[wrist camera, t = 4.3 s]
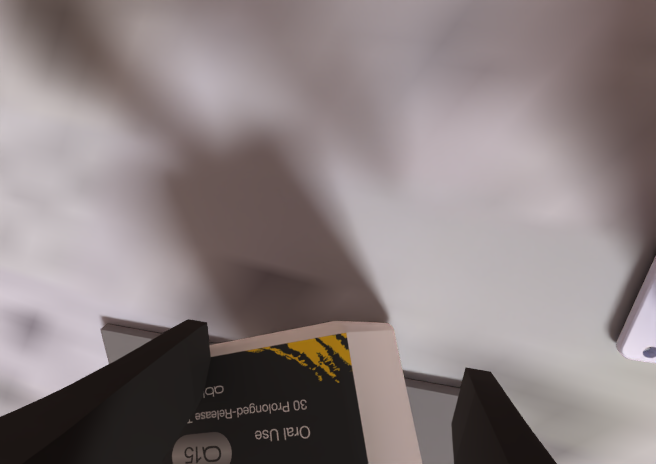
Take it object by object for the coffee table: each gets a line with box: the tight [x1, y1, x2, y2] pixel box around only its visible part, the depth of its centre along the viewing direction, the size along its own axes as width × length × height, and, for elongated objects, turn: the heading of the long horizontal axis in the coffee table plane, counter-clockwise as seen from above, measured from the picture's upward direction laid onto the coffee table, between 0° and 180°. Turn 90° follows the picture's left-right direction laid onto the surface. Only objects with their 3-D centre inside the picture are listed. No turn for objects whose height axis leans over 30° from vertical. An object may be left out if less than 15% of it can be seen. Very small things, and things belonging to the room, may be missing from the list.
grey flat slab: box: [100, 324, 460, 464], centre depth 20 cm, size 20×13×1 cm, turn 88°
